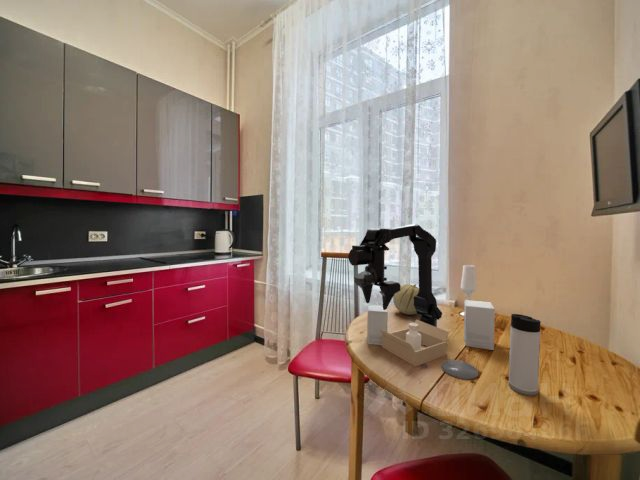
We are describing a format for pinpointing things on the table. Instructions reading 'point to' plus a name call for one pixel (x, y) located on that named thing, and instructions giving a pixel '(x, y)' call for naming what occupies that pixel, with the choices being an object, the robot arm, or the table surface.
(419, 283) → the robot arm
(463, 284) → the champagne flute
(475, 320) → the supplement box
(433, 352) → the carton
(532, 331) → the travel mug
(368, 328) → the supplement box
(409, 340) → the salt shaker
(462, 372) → the coaster
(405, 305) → the cantaloupe
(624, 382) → the table surface
